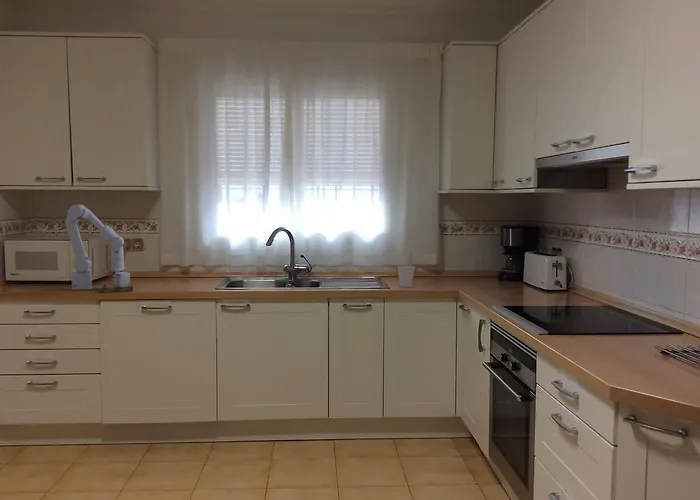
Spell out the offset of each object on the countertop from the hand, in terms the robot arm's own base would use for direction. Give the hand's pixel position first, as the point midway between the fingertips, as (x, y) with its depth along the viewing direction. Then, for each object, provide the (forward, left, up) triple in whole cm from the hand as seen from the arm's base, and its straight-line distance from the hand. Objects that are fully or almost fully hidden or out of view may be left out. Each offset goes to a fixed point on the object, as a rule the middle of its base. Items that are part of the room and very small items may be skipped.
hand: (118, 284), depth 318 cm
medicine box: (+1, -6, -2) cm, 6 cm away
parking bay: (0, -8, -2) cm, 8 cm away
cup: (+148, -41, -2) cm, 153 cm away
